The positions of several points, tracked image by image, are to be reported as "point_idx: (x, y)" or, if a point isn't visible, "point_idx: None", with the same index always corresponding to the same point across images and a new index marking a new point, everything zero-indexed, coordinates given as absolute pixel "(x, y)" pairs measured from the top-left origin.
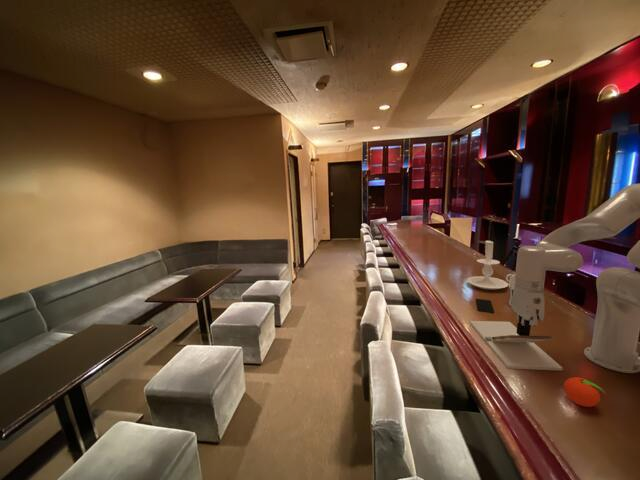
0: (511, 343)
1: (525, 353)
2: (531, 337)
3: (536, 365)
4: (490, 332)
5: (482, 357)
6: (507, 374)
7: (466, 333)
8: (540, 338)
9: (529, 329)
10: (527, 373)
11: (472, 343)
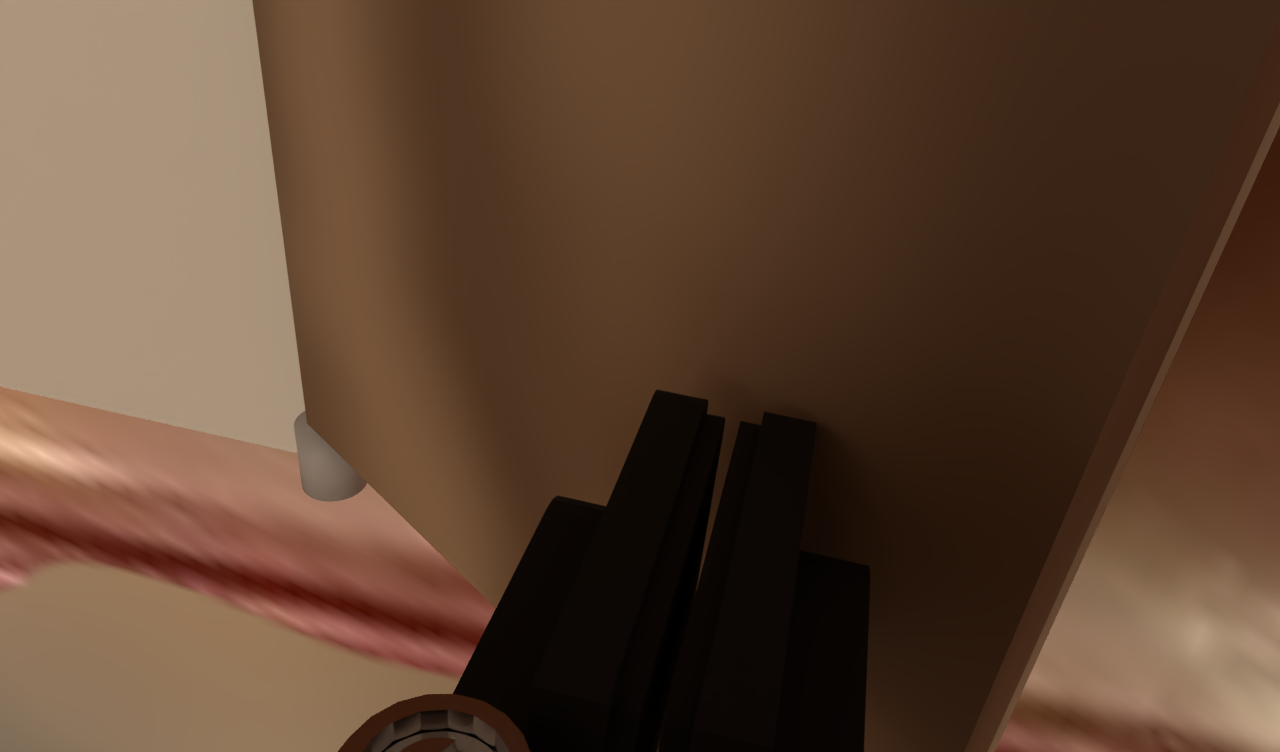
0: None
1: None
2: (1052, 586)
3: None
4: (86, 255)
5: None
6: (1144, 662)
7: (166, 525)
8: (1177, 328)
9: (785, 599)
10: (1219, 419)
11: (415, 601)
